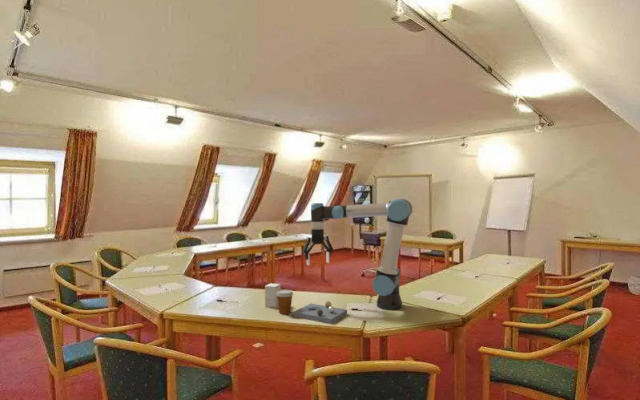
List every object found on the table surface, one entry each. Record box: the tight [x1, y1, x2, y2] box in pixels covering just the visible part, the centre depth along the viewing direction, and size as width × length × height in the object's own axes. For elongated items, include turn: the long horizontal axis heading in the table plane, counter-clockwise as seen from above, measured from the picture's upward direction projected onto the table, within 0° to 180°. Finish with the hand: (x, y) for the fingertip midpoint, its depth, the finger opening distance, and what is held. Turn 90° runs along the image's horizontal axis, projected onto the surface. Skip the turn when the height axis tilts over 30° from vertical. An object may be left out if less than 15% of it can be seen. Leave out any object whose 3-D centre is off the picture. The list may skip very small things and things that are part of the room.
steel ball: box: [328, 305, 335, 313], centre depth 197 cm, size 4×4×4 cm
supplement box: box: [264, 282, 282, 309], centre depth 219 cm, size 7×7×13 cm
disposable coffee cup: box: [276, 289, 294, 315], centre depth 206 cm, size 10×10×12 cm
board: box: [292, 303, 348, 325], centre depth 200 cm, size 24×18×2 cm
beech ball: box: [324, 300, 332, 308], centre depth 206 cm, size 4×4×4 cm
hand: (318, 263), depth 219 cm, fingers open, 13 cm apart
